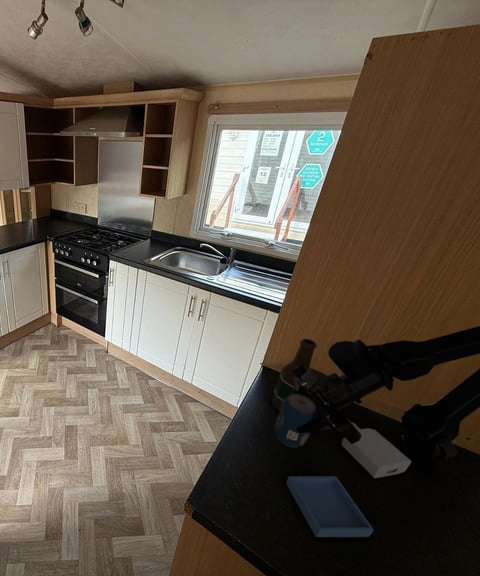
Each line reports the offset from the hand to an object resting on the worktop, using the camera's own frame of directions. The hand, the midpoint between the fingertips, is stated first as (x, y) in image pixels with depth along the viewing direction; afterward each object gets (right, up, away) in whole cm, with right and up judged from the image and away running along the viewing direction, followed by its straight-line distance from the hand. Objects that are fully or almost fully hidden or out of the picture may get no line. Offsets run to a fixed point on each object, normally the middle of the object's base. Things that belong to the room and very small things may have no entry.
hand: (289, 418), depth 75 cm
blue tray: (+4, -17, -6) cm, 19 cm away
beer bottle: (+10, -5, +19) cm, 22 cm away
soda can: (+1, -6, +3) cm, 7 cm away
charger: (+23, -11, +7) cm, 26 cm away
